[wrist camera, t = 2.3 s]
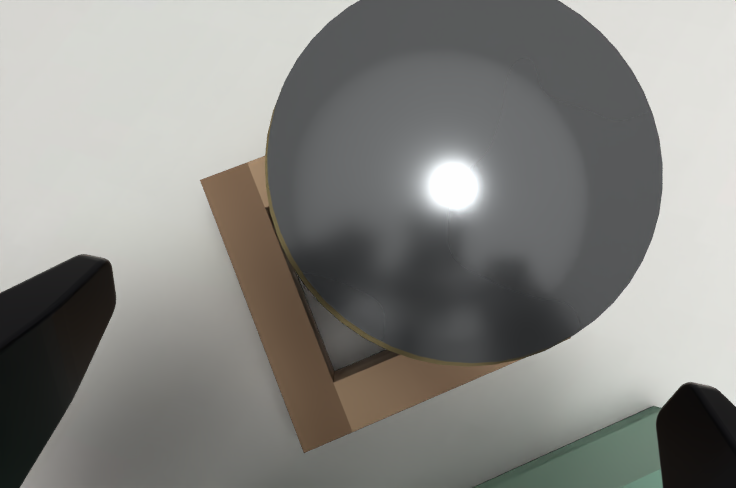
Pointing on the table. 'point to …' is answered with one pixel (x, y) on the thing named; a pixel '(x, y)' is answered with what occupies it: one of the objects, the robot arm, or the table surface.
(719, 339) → the table surface
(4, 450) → the robot arm
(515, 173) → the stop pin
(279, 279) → the socket block
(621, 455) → the parts tray
